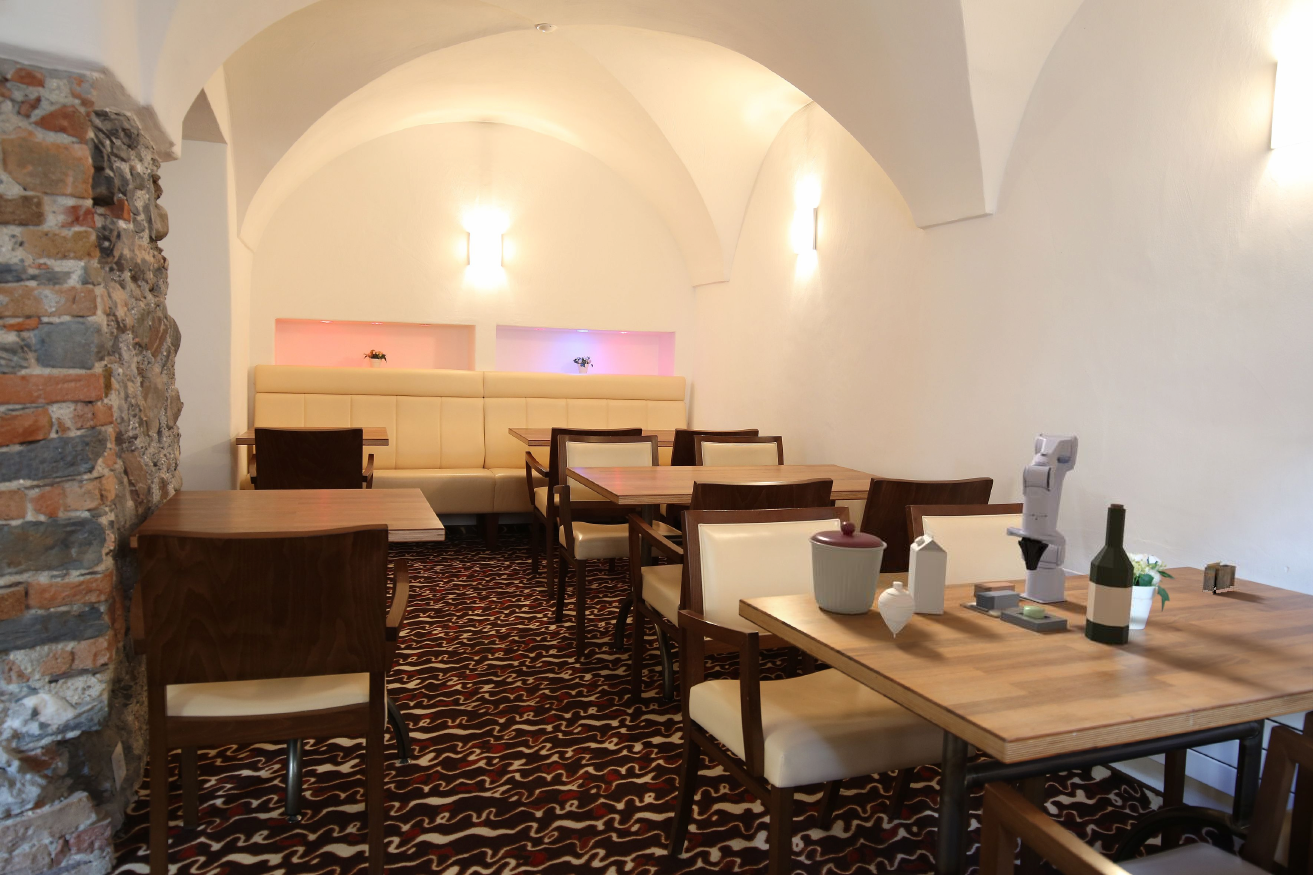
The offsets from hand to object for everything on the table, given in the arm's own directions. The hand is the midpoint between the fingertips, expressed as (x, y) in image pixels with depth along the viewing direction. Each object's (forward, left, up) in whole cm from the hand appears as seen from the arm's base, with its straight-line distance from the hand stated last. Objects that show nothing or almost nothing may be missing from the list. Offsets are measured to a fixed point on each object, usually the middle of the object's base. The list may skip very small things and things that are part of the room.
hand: (1031, 569), depth 199 cm
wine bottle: (+2, +22, -11) cm, 25 cm away
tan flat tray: (+6, -4, -10) cm, 13 cm away
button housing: (+8, +8, -10) cm, 15 cm away
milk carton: (+25, -9, -11) cm, 29 cm away
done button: (+8, +8, -10) cm, 15 cm away
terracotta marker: (-3, -13, -10) cm, 17 cm away
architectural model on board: (-75, +2, -11) cm, 76 cm away
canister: (+44, -16, -11) cm, 48 cm away
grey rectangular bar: (+6, -4, -10) cm, 12 cm away
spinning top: (+48, +6, -11) cm, 50 cm away
